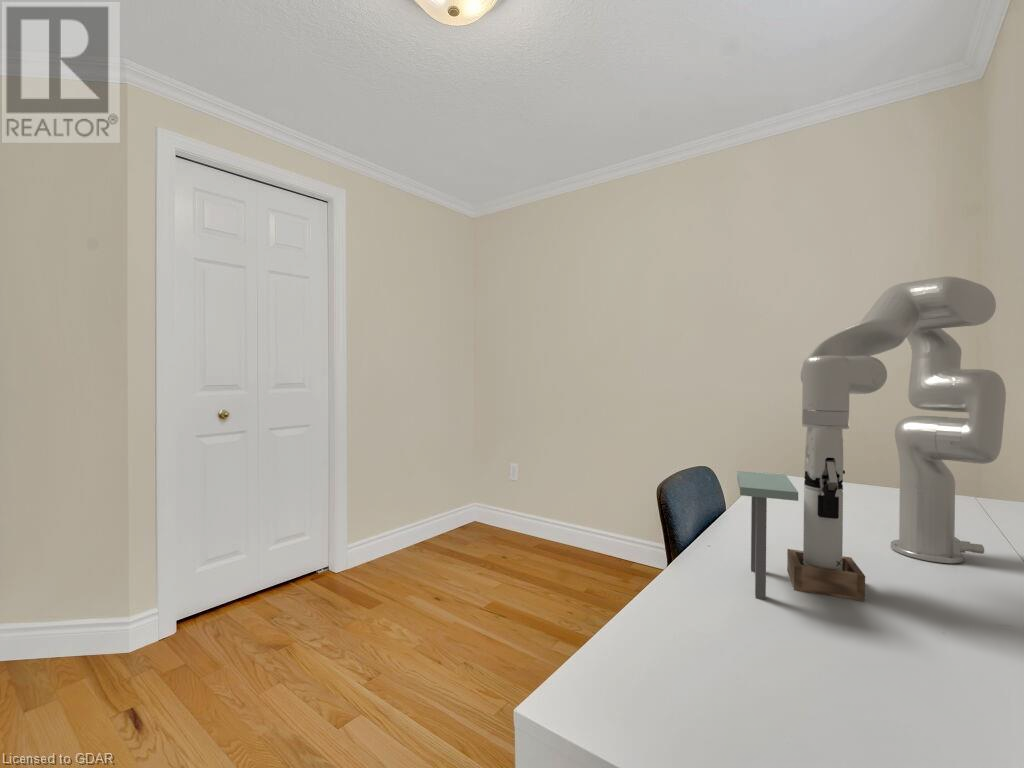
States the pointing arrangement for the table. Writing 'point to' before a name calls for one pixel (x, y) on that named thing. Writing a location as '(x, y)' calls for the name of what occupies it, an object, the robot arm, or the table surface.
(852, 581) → the brown wooden tray
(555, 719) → the table surface
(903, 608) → the table surface
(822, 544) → the travel mug
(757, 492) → the panel
